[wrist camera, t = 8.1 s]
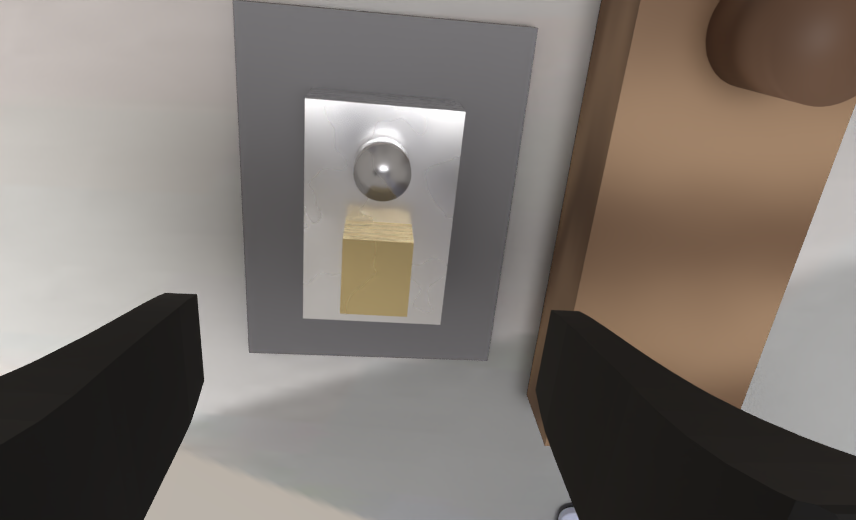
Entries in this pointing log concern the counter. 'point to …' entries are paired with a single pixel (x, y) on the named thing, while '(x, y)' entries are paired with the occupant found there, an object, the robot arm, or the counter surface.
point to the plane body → (699, 176)
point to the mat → (386, 74)
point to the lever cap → (378, 204)
